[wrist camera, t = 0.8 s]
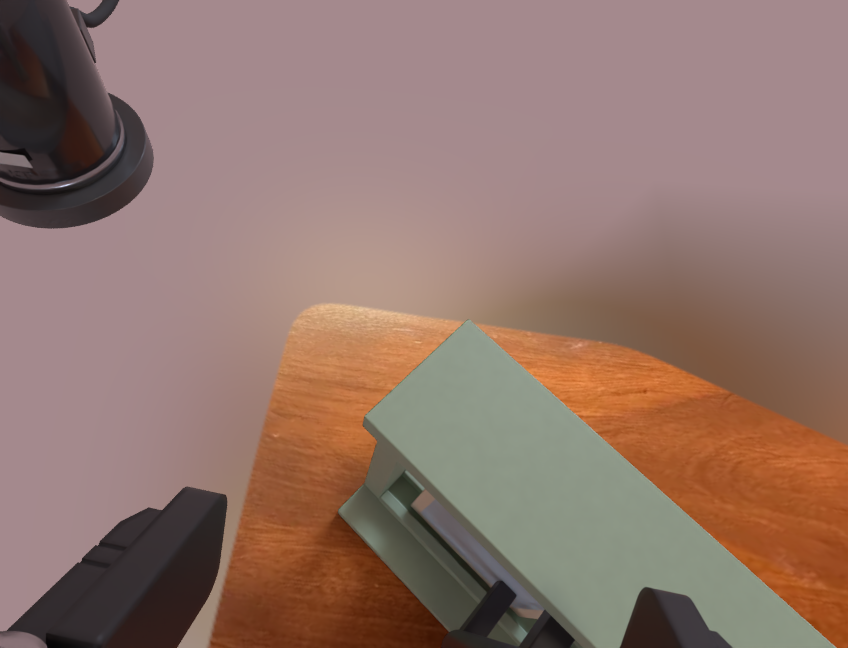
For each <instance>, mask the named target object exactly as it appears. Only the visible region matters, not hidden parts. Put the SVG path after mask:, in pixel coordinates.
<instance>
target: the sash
mask: <svg viewBox="0 0 848 648" xmlns="http://www.w3.org/2000/svg"><path fill="white" fill-rule="evenodd" d="M411 507H412V508H413V509H414V510H415V511H416V512H417V513H418V514H419V515H420V516H421V517H422V518H423V519H424V520H425V521H426V522H427V523H428V524H429V525H430V526H431V527H432V528H433V529H434V530H435V531H436V532H437V533H438V534H439V535H440V537H441V538H442V539H443V540H444V541H445V542H446V543H447V544H448V545H449V546H450V547H451V548H452V549H453V550H454V551H455V552H456V553H457V554H458V555H459V556H460V557H461V558H462V559H463V560H464V561H465V562H466V563H467V564H468V565H469V566H470V567H471V568H472V569H473V570H474V571H475V572H476V573H477V574H478V575H479V576H480V577H481V578H482V580H483V581H484V582H485V583H486V584H487V585H488V586H489V587H490V590H489V591H488V592H487V594H486V595H485V596H484V598H483V599H482V600H481V601H480V603H479V604H478V605H477V607H476V608H475V609H474V611H473V612H472V613H471V614H470V616H469V617H468V618H467V620H466V621H465V622H464V624H463V625H462V626H461V627H460V629H459V630H453V631H450V632H449V633H448V634H447V635H446V636H445V637H444V639H443V641H442V645H441V648H570V647H571V646H572V644H573V643H574V641H575V639H574V638H573V637H572V636H571V635H570V634H569V633H568V632H567V631H566V630H565V629H564V628H563V627H562V626H561V625H560V624H559V623H558V622H557V621H556V620H555V619H554V618H553V617H552V616H551V615H550V614H549V613H548V612H547V611H546V610H545V609H544V608H543V607H542V606H541V605H540V604H539V603H538V602H537V601H536V600H535V599H534V598H533V597H532V596H531V595H530V594H529V593H528V592H527V591H526V590H525V589H524V588H523V587H522V586H521V585H520V584H519V583H518V582H517V581H516V580H515V579H514V578H513V577H512V576H511V575H510V574H509V573H508V572H507V571H506V570H505V569H504V568H503V567H502V566H501V565H500V564H499V563H498V562H497V561H496V560H495V559H494V558H493V557H492V556H491V555H490V554H489V552H488V551H487V550H486V549H485V548H484V547H483V546H482V545H481V544H480V543H479V542H478V541H477V540H476V539H475V538H474V537H473V536H472V535H471V534H470V533H469V532H468V531H467V530H466V529H465V528H464V527H463V526H462V525H461V524H460V523H459V522H458V521H457V520H456V519H455V518H454V517H453V516H452V515H451V514H450V513H449V512H448V511H447V510H446V509H445V508H444V507H443V506H442V505H441V504H440V503H439V502H438V501H437V500H436V499H435V498H434V497H433V496H432V495H431V494H430V493H429V492H428V491H427V490H426V489H425V490H424V491H423V492H422V493H421V494H420V495H419V496H418V497H417V498H416V499H415V501H414V502H413V503H412V504H411ZM509 607H510V608H511V609H512V610H513V611H514V612H515V613H516V614H517V615H518V616H519V617H525V618H533V619H537V621H536V622H535V624H534V625H533V627H532V628H531V629H530V631H529V632H528V634H527V635H526V637H525V638H524V639H523V641H522V642H521V644H520V645H519V647H518V646H514V645H511V644H508V643H504V642H501V641H497V640H494V639H490V638H487V636H488V635H489V634H490V632H491V631H492V630H493V628H494V627H495V626H496V624H497V623H498V621H499V620H500V619H501V617H502V616H503V615H504V613H505V612H506V611H507V609H508V608H509Z"/></svg>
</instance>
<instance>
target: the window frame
mask: <svg viewBox="0 0 848 648" xmlns="http://www.w3.org/2000/svg"><path fill="white" fill-rule="evenodd" d="M363 427H364V428H365V429H366V430H367V431H368V432H369V433H370V434H371V435H372V436H373V437H374V438H375V439H376V440H377V444H376V447H375V450H374V453H373V457H372V460H371V463H370V466H369V470H368V473H367V476H366V479H365V483H364V484H363V485H362V486H361V487H360V488H359V489H358V490H357V491H356V492H355V493H354V494H353V495H352V496H351V497H350V498H349V499H348V500H347V501H346V502H345V503H344V504H343V505H342V506H341V507H340V508H339V509H338V514H339V515H340V516H341V517H342V518H343V519H344V520H345V521H346V522H347V523H348V525H349V526H350V527H351V528H352V529H353V530H354V531H355V532H356V533H357V534H358V535H359V536H360V537H361V538H362V540H363V541H364V542H365V543H366V544H367V545H368V546H369V547H370V548H371V549H372V550H373V551H374V552H375V553H376V555H377V556H378V557H379V558H380V559H381V560H382V561H383V562H384V563H385V564H386V565H387V566H388V567H389V568H390V569H391V571H392V572H393V573H394V574H395V575H396V576H397V577H398V578H399V579H400V580H401V581H402V582H403V583H404V584H405V586H406V587H407V588H408V589H409V590H410V591H411V592H412V593H413V594H414V595H415V596H416V597H417V598H418V599H419V600H420V602H421V603H422V604H423V605H424V606H425V607H426V608H427V609H428V610H429V611H430V612H431V613H432V614H433V615H434V617H435V618H436V619H437V620H438V621H439V622H440V623H441V624H442V625H443V626H444V627H445V628H446V629H447V630H448V632H450V631H453V630H459V629H460V627H461V626H462V625H463V624H464V622H465V621H466V620H467V618H468V617H469V616H470V614H471V613H472V612H473V611H474V609H475V608H476V607H477V605H478V604H479V603H480V601H481V600H482V599H483V598H484V596H485V595H486V594H487V592H488V591H489V590H490V587H489V586H488V585H487V584H486V583H485V582H484V581H483V580H482V578H481V577H480V576H479V575H478V574H477V573H476V572H475V571H474V570H473V569H472V568H471V567H470V566H469V565H468V564H467V563H466V562H465V561H464V560H463V559H462V558H461V557H460V556H459V555H458V554H457V553H456V552H455V551H454V550H453V549H452V548H451V547H450V546H449V545H448V544H447V543H446V542H445V541H444V540H443V539H442V538H441V537H440V535H439V534H438V533H437V532H436V531H435V530H434V529H433V528H432V527H431V526H430V525H429V524H428V523H427V522H426V521H425V520H424V519H423V518H422V517H421V516H420V515H419V514H418V513H417V512H416V511H415V510H414V509H413V508H412V507H411V504H412V503H413V502H414V501H415V499H416V498H417V497H418V496H419V495H420V494H421V493H422V492H423V491H424V490H425V489H426V490H427V491H428V492H429V493H430V494H431V495H432V496H433V497H434V498H435V499H436V500H437V501H438V502H439V503H440V504H441V505H442V506H443V507H444V508H445V509H446V510H447V511H448V512H449V513H450V514H451V515H452V516H453V517H454V518H455V519H456V520H457V521H458V522H459V523H460V524H461V525H462V526H463V527H464V528H465V529H466V530H467V531H468V532H469V533H470V534H471V535H472V536H473V537H474V538H475V539H476V540H477V541H478V542H479V543H480V544H481V545H482V546H483V547H484V548H485V549H486V550H487V551H488V552H489V554H490V555H491V556H492V557H493V558H494V559H495V560H496V561H497V562H498V563H499V564H500V565H501V566H502V567H503V568H504V569H505V570H506V571H507V572H508V573H509V574H510V575H511V576H512V577H513V578H514V579H515V580H516V581H517V582H518V583H519V584H520V585H521V586H522V587H523V588H524V589H525V590H526V591H527V592H528V593H529V594H530V595H531V596H532V597H533V598H534V599H535V600H536V601H537V602H538V603H539V604H540V605H541V606H542V607H543V608H544V609H545V610H546V611H547V612H548V613H549V614H550V615H551V616H552V617H553V618H554V619H555V620H556V621H557V622H558V623H559V624H560V625H561V626H562V627H563V628H564V629H565V630H566V631H567V632H568V633H569V634H570V635H571V636H572V637H573V638H574V639H575V641H574V643H573V644H572V646H571V647H570V648H620V646H621V643H622V640H623V637H624V634H625V631H626V629H627V626H628V623H629V620H630V617H631V614H632V611H633V609H634V606H635V603H636V600H637V597H638V595H639V593H640V591H641V590H642V589H643V588H644V587H650V588H654V589H659V590H664V591H668V592H673V593H677V594H682V595H686V596H688V597H689V598H690V599H691V600H692V601H693V603H694V604H695V606H696V608H697V609H698V611H699V613H700V615H701V616H702V618H703V620H704V621H705V623H706V625H707V627H708V628H709V630H711V631H715V632H718V633H719V634H720V635H721V636H722V637H723V638H724V639H725V640H726V641H727V642H728V644H729V645H730V646H731V647H732V648H836V647H835V646H834V645H833V644H831V643H830V642H829V641H828V640H827V639H826V638H825V637H824V636H823V635H821V634H820V633H819V632H818V631H817V630H816V629H815V628H814V627H812V626H811V625H810V624H809V623H808V622H807V621H806V620H805V619H804V618H802V617H801V616H800V615H799V614H798V613H797V612H796V611H795V610H793V609H792V608H791V607H790V606H789V605H788V604H787V603H786V602H785V601H783V600H782V599H781V598H780V597H779V596H778V595H777V594H776V593H774V592H773V591H772V590H771V589H770V588H769V587H768V586H767V585H766V584H764V583H763V582H762V581H761V580H760V579H759V578H758V577H757V576H755V575H754V574H753V573H752V572H751V571H750V570H749V569H748V568H747V567H745V566H744V565H743V564H742V563H741V562H740V561H739V560H738V559H736V558H735V557H734V556H733V555H732V554H731V553H730V552H729V551H728V550H726V549H725V548H724V547H723V546H722V545H721V544H720V543H719V542H718V541H716V540H715V539H714V538H713V537H712V536H711V535H710V534H709V533H707V532H706V531H705V530H704V529H703V528H702V527H701V526H700V525H699V524H697V523H696V522H695V521H694V520H693V519H692V518H691V517H690V516H688V515H687V514H686V513H685V512H684V511H683V510H682V509H681V508H680V507H678V506H677V505H676V504H675V503H674V502H673V501H672V500H671V499H669V498H668V497H667V496H666V495H665V494H664V493H663V492H662V491H661V490H659V489H658V488H657V487H656V486H655V485H654V484H653V483H652V482H650V481H649V480H648V479H647V478H646V477H645V476H644V475H643V474H642V473H640V472H639V471H638V470H637V469H636V468H635V467H634V466H633V465H632V464H630V463H629V462H628V461H627V460H626V459H625V458H624V457H623V456H621V455H620V454H619V453H618V452H617V451H616V450H615V449H614V448H613V447H611V446H610V445H609V444H608V443H607V442H606V441H605V440H604V439H602V438H601V437H600V436H599V435H598V434H597V433H596V432H595V431H594V430H592V429H591V428H590V427H589V426H588V425H587V424H586V423H585V422H583V421H582V420H581V419H580V418H579V417H578V416H577V415H576V414H575V413H573V412H572V411H571V410H570V409H569V408H568V407H567V406H566V405H564V404H563V403H562V402H561V401H560V400H559V399H558V398H557V397H556V396H554V395H553V394H552V393H551V392H550V391H549V390H548V389H547V388H545V387H544V386H543V385H542V384H541V383H540V382H539V381H538V380H537V379H535V378H534V377H533V376H532V375H531V374H530V373H529V372H528V371H527V370H525V369H524V368H523V367H522V366H521V365H520V364H519V363H518V362H516V361H515V360H514V359H513V358H512V357H511V356H510V355H509V354H508V353H506V352H505V351H504V350H503V349H502V348H501V347H500V346H499V345H497V344H496V343H495V342H494V341H493V340H492V339H491V338H490V337H489V336H487V335H486V334H485V333H484V332H483V331H482V330H481V329H480V328H478V327H477V326H476V325H475V324H474V323H473V322H472V321H471V320H469V319H468V320H466V321H465V322H464V323H463V324H462V325H461V326H460V327H459V328H458V329H457V330H456V331H455V332H454V333H453V334H451V335H450V336H449V337H448V338H447V339H446V340H445V341H444V342H443V343H442V344H441V345H440V346H439V347H438V348H437V349H435V350H434V351H433V352H432V353H431V354H430V355H429V356H428V357H427V358H426V359H425V360H424V361H423V362H422V363H421V364H419V365H418V366H417V367H416V368H415V369H414V370H413V371H412V372H411V373H410V374H409V375H408V376H407V377H406V378H405V379H403V380H402V381H401V382H400V383H399V384H398V385H397V386H396V387H395V388H394V389H393V390H392V391H391V392H390V393H388V394H387V395H386V396H385V397H384V398H383V399H382V400H381V401H380V402H379V403H378V404H377V405H376V406H375V407H374V408H372V409H371V410H370V411H369V412H368V413H367V414H366V415H365V417H364V421H363ZM536 621H537V619H533V618H525V617H519V616H518V615H517V614H516V613H515V612H514V611H513V610H512V609H511V608H510V607H509V608H508V609H507V611H506V612H505V613H504V615H503V616H502V617H501V619H500V620H499V621H498V623H497V624H496V626H495V627H494V628H493V630H492V631H491V632H490V634H489V635H488V636H487V638H490V639H494V640H497V641H501V642H504V643H508V644H511V645H514V646H518V647H519V645H520V644H521V642H522V641H523V639H524V638H525V637H526V635H527V634H528V632H529V631H530V629H531V628H532V627H533V625H534V624H535V622H536Z"/></svg>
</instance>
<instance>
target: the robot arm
mask: <svg viewBox="0 0 848 648" xmlns="http://www.w3.org/2000/svg"><path fill="white" fill-rule="evenodd" d="M118 1H119V0H103V1H102V3H101V4H100V5H99V6H98V7H97V8H96V9H95V10H94V11H93V12H91V13H89V14H85V13H83V12H81V11H80V10H79V9H76V8H74V7H69V5H68V3H67V0H0V185H1V186H3V187H5V188H8V189H10V190H13V191H16V192H20V193H25V194H32V195H54V194H62V193H67V192H71V191H75V190H78V189H81V188H84V187H86V186H89V185H91V184H93V183H95V182H96V181H98V180H100V179H101V178H103V177H104V176H105V175H107V174H108V173H109V172H110V171H111V170H112V169H113V168H114V167H115V166H116V165H117V164H118V162H119V161H120V159H121V158H122V156H123V154H124V151H125V148H126V144H127V135H126V130H125V127H124V125H123V123H122V120H121V118H120V116H119V114H118V112H117V111H116V109H115V108H114V106H113V104H112V102H111V99H110V97H109V95H108V93H107V91H106V88H105V86H104V83H103V81H102V79H101V76H100V74H99V72H98V70H97V68H96V65H95V63H96V58H95V52H94V45H93V41H92V39H91V36H90V34H89V32H88V30H87V27H89V28H94V27H97V26H98V25H100V24H102V23H103V22H104V21H105V20H106V19H107V18H108V17H109V16H110V15H111V13H112V12H113V11H114V9H115V7H116V5H117V4H118ZM226 510H227V497H226V495H224V494H219V493H214V492H210V491H205V490H200V489H196V488H191V487H185V488H183V489H182V490H181V491H180V492H179V493H178V494H177V495H176V496H175V497H174V498H173V499H172V501H171V502H170V503H169V504H168V505H167V506H166V507H165V508H164V509H163V510H157V509H153V508H147V509H145V510H143V511H141V512H139V513H137V514H135V515H133V516H131V517H129V518H127V519H125V520H123V521H121V522H120V523H118V524H117V525H116V526H115V527H114V529H112V530H111V531H110V532H109V533H108V534H107V535H106V536H105V537H104V538H103V539H102V540H101V541H100V543H99V545H98V546H96V545H95V546H94V547H93V548H92V549H91V550H90V551H89V552H88V553H87V554H86V555H85V556H84V557H83V558H82V561H81V562H80V563H77V564H76V565H75V566H74V567H73V568H72V569H70V570H69V571H68V572H67V573H66V574H65V575H64V576H63V577H62V578H61V579H60V580H59V581H58V582H57V583H56V584H55V585H54V586H53V587H52V588H51V589H50V590H49V591H47V592H46V593H45V594H44V595H43V596H42V597H41V598H40V599H39V600H38V601H37V602H36V603H35V604H34V605H33V606H32V607H31V608H30V609H29V610H28V611H27V612H26V613H25V614H23V616H21V618H19V619H18V620H17V621H16V622H15V623H14V624H13V625H12V626H11V627H10V628H9V629H8V630H7V631H3V632H0V648H177V647H178V645H179V644H180V642H181V640H182V639H183V637H184V635H185V634H186V632H187V630H188V629H189V628H190V626H191V624H192V623H193V621H194V620H195V618H196V616H197V615H198V613H199V611H200V610H201V608H202V607H203V605H204V604H205V602H206V600H207V599H208V597H209V595H210V593H211V590H212V588H213V585H214V583H215V580H216V577H217V573H218V569H219V564H220V557H221V550H222V542H223V534H224V526H225V518H226ZM620 648H732V647H731V646H730V645H729V644H728V642H727V641H726V640H725V639H724V638H723V637H722V636H721V635H720V634H719V633H718V632H715V631H711V630H709V628H708V627H707V625H706V623H705V621H704V620H703V618H702V616H701V615H700V613H699V611H698V609H697V608H696V606H695V604H694V603H693V601H692V600H691V599H690V598H689V597H688V596H686V595H682V594H677V593H673V592H668V591H664V590H659V589H654V588H650V587H644V588H643V589H642V590H641V591H640V593H639V595H638V597H637V600H636V603H635V606H634V609H633V611H632V614H631V617H630V620H629V623H628V626H627V629H626V631H625V634H624V637H623V640H622V643H621V646H620Z"/></svg>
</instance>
